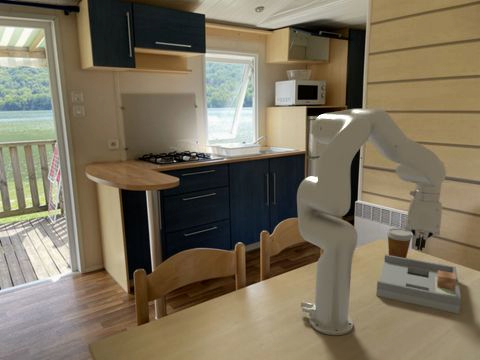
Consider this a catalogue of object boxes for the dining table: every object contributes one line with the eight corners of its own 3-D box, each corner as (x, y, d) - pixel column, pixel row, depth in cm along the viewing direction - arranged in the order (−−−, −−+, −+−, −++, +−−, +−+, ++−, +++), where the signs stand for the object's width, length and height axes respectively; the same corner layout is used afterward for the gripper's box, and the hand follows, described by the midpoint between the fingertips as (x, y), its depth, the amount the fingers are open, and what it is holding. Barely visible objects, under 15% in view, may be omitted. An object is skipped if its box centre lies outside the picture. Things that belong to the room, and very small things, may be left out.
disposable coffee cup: (413, 264, 147) (416, 236, 145) (389, 264, 147) (392, 235, 145) (403, 254, 156) (406, 228, 154) (381, 254, 156) (383, 227, 154)
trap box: (376, 295, 123) (377, 281, 122) (384, 266, 145) (385, 254, 144) (459, 313, 113) (461, 298, 112) (454, 279, 135) (455, 266, 134)
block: (437, 287, 124) (438, 276, 123) (436, 280, 128) (438, 270, 128) (454, 290, 122) (455, 279, 121) (453, 283, 126) (454, 273, 125)
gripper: (401, 195, 122) (395, 248, 125) (453, 202, 116) (444, 257, 119) (402, 191, 129) (396, 241, 132) (451, 197, 122) (444, 250, 126)
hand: (419, 249), depth 126 cm, fingers closed
